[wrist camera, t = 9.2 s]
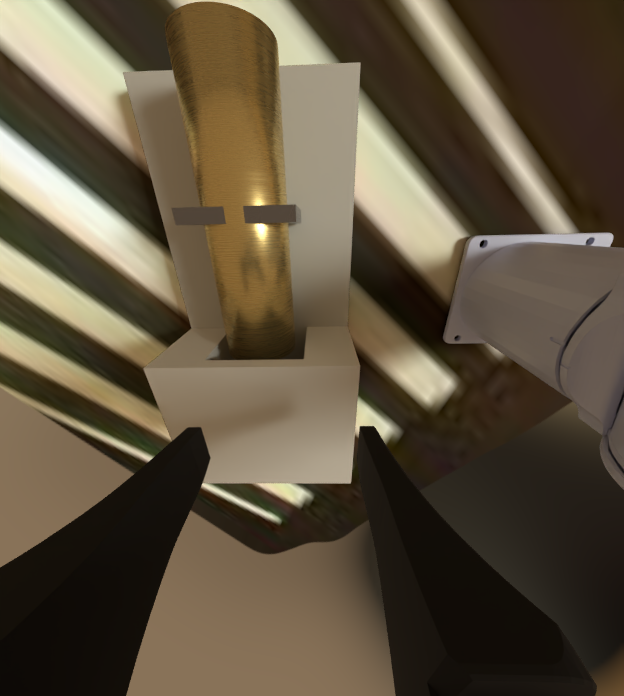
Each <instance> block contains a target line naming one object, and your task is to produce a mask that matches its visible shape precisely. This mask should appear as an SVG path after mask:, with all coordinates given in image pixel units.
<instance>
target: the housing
mask: <svg viewBox="0 0 624 696" xmlns="http://www.w3.org/2000/svg"><path fill="white" fill-rule="evenodd" d="M279 74H280V91H281V108H282V125H283V142H284V158H285V175H286V192H287V205H293V204H296V205H297V207H298V208H299V209H300V210H301V223H288V226H289V243H290V260H291V277H292V294H293V310H294V327H295V344H296V345H295V349H294V350H293V351H292V352H291V353H290V354H289V355H287V356H285V357H283V358H281V359H278V360H236V359H234V358H233V357H231V355H230V353H229V348H228V343H227V338H226V333H225V328H224V323H223V318H222V313H221V308H220V303H219V298H218V293H217V288H216V283H215V278H214V273H213V268H212V263H211V258H210V253H209V248H208V243H207V239H206V234H205V229H204V225H175V221H174V217H173V213H172V209H171V208H183V207H200V204H199V199H198V194H197V189H196V184H195V179H194V174H193V169H192V164H191V159H190V154H189V149H188V144H187V139H186V134H185V129H184V124H183V119H182V114H181V109H180V104H179V99H178V94H177V89H176V84H175V79H174V74H173V70H167V71H143V72H123V75H124V79H125V82H126V86H127V90H128V94H129V97H130V101H131V105H132V109H133V112H134V116H135V120H136V124H137V127H138V131H139V135H140V138H141V142H142V146H143V150H144V153H145V157H146V161H147V165H148V168H149V172H150V176H151V179H152V183H153V187H154V191H155V194H156V198H157V202H158V206H159V209H160V213H161V217H162V221H163V224H164V228H165V232H166V235H167V239H168V243H169V247H170V250H171V254H172V258H173V262H174V265H175V269H176V273H177V277H178V280H179V284H180V288H181V291H182V295H183V299H184V303H185V306H186V310H187V314H188V318H189V321H190V325H191V329H190V330H189V331H188V332H187V333H185V334H184V335H183V336H182V337H181V338H179V339H178V340H177V341H176V342H174V343H173V344H172V345H171V346H170V347H168V348H167V349H166V350H165V351H164V352H162V353H161V354H160V355H159V356H157V357H156V358H155V359H154V360H153V361H151V362H150V363H149V364H148V365H147V366H145V367H144V368H143V369H144V372H145V374H146V377H147V379H148V382H149V384H150V387H151V389H152V392H153V394H154V397H155V399H156V402H157V404H158V407H159V409H160V412H161V414H162V417H163V419H164V422H165V425H166V427H167V430H168V432H169V435H170V437H171V440H172V441H173V440H174V439H175V438H176V437H177V436H178V435H180V434H181V433H182V432H183V431H184V430H185V429H186V428H188V427H201V428H202V432H203V435H204V438H205V441H206V445H207V448H208V451H209V454H210V457H211V459H210V462H209V465H208V469H207V472H206V475H205V478H204V481H203V483H351V475H352V463H353V450H354V438H355V425H356V412H357V400H358V387H359V375H360V364H359V360H358V357H357V354H356V351H355V348H354V345H353V341H352V338H351V335H350V332H349V329H348V310H349V290H350V269H351V248H352V227H353V207H354V186H355V165H356V144H357V124H358V103H359V82H360V63H338V64H313V65H289V66H279Z"/></svg>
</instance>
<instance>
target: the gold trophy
mask: <svg viewBox="0 0 624 696" xmlns="http://www.w3.org/2000/svg"><path fill="white" fill-rule="evenodd" d="M165 34H166V39H167V44H168V49H169V54H170V59H171V64H172V69H173V74H174V79H175V84H176V89H177V94H178V99H179V104H180V109H181V114H182V119H183V124H184V129H185V134H186V139H187V144H188V149H189V154H190V159H191V164H192V169H193V174H194V179H195V184H196V189H197V194H198V199H199V204H200V207H183V208H171V209H172V213H173V217H174V221H175V225H204V229H205V234H206V239H207V243H208V248H209V253H210V258H211V263H212V268H213V273H214V278H215V283H216V288H217V293H218V298H219V303H220V308H221V313H222V318H223V323H224V328H225V333H226V338H227V343H228V348H229V353H230V355H231V357H233V358H234V359H236V360H278V359H281V358H283V357H285V356H287V355H289V354H290V353H291V352H292V351H293V350H294V349H295V345H296V344H295V327H294V310H293V294H292V277H291V260H290V243H289V226H288V223H301V210H300V209H299V208H298V207H297V205H296V204H293V205H287V192H286V175H285V158H284V142H283V125H282V108H281V91H280V74H279V57H278V44H277V40H276V38H275V36H274V34H273V32H272V31H271V30H270V28H269V27H268V26H267V25H266V24H265V23H264V22H263V21H261V20H260V19H259V18H257V17H256V16H254V15H253V14H251V13H249V12H247V11H245V10H243V9H240V8H238V7H235V6H232V5H228V4H224V3H218V2H195V3H190V4H186V5H184V6H181V7H179V8H178V9H176V10H174V11H173V12H172V13H171V14H170V15H169V17H168V18H167V21H166V23H165Z"/></svg>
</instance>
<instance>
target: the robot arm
mask: <svg viewBox="0 0 624 696" xmlns="http://www.w3.org/2000/svg"><path fill="white" fill-rule="evenodd" d="M587 239H589V240H588V242H587V243H586V241H587ZM482 240H484V244H483V246H482V247H480V242H481V241H482ZM612 241H613V235H612V233H570V234H527V235H485V236H472V237H470V238H469V239H468V240H467V242H466V245H465V249H464V253H463V257H462V261H461V265H460V269H459V274H458V278H457V282H456V286H455V290H454V294H453V298H452V302H451V306H450V310H449V314H448V318H447V323H446V327H445V331H444V335H443V340H444V341H445V342H446V343H449V344H457V343H488V344H490V345H491V346H493V347H494V348H496V349H497V350H499V351H500V352H502V353H503V354H505V355H506V356H508V357H509V358H510V359H512V360H513V361H515V362H516V363H518V364H519V365H521V366H522V367H524V368H525V369H527V370H528V371H529V372H531V373H532V374H534V375H535V376H537V377H538V378H540V379H541V380H543V381H544V382H546V383H547V384H549V385H550V386H551V387H553V388H554V389H556V390H557V391H559V392H560V393H562V394H563V395H565V396H566V397H568V398H569V399H571V400H572V401H573V402H574V403H575V404H576V405H577V406H578V409H579V413H578V418H580V419H581V420H583V421H584V422H585V423H587V424H588V425H589V426H591V427H592V428H593V429H595V430H596V431H597V432H599V433H600V434H602V435H603V437H602V440H601V444H600V453H601V458H602V460H603V462H604V465H605V467H606V468H607V470H608V471H609V473H610V474H611V475H612V477H613V478H614V480H615V481H616V482H617V483H618V484H619V485H620V486H621V487H622V488H623V489H624V248H617V247H610V245H611V243H612ZM457 335H458V338H456V339H454V338H455V336H457ZM210 459H211V457H210V454H209V451H208V448H207V445H206V441H205V438H204V435H203V432H202V428H201V427H188V428H186V429H185V430H184V431H183V432H182V433H181V434H180V435H178V436H177V437H176V438H175V439H174V440H173V441H172V442H171V443H169V444H168V445H167V446H166V447H165V448H164V449H163V450H162V451H161V452H159V453H158V454H157V455H156V456H155V457H154V458H153V459H151V460H150V461H149V462H148V463H147V464H146V465H145V466H144V467H142V468H141V469H140V470H139V471H138V472H136V473H135V474H134V475H133V476H131V477H130V478H129V479H128V480H127V481H125V482H124V483H123V484H122V485H121V486H120V487H118V488H117V489H116V490H114V491H113V492H112V493H111V494H109V495H108V496H107V497H105V498H104V499H103V500H102V501H100V502H99V503H97V504H96V505H95V506H93V507H92V508H90V509H89V510H88V511H86V512H85V513H84V514H82V515H81V516H79V517H78V518H77V519H75V520H74V521H72V522H71V523H69V524H68V525H66V526H65V527H63V528H62V529H60V530H59V531H57V532H56V533H54V534H53V535H51V536H50V537H48V538H47V539H45V540H44V541H42V542H41V543H39V544H38V545H36V546H35V547H33V548H31V549H30V550H28V551H27V552H25V553H23V554H22V555H20V556H19V557H17V558H15V559H14V560H12V561H10V562H9V563H7V564H5V565H4V566H2V567H0V696H126V694H127V690H128V687H129V683H130V680H131V676H132V673H133V669H134V666H135V662H136V659H137V655H138V652H139V649H140V646H141V642H142V639H143V636H144V633H145V630H146V626H147V623H148V620H149V617H150V614H151V610H152V608H153V605H154V602H155V599H156V596H157V593H158V590H159V587H160V584H161V581H162V578H163V575H164V573H165V570H166V567H167V564H168V562H169V559H170V556H171V553H172V551H173V548H174V546H175V543H176V541H177V538H178V536H179V534H180V532H181V529H182V527H183V525H184V523H185V521H186V519H187V516H188V514H189V512H190V510H191V508H192V506H193V503H194V501H195V499H196V497H197V494H198V492H199V490H200V488H201V485H202V483H203V481H204V478H205V475H206V472H207V469H208V465H209V462H210ZM357 462H358V470H359V477H360V483H361V488H362V492H363V497H364V501H365V505H366V510H367V514H368V518H369V522H370V527H371V531H372V535H373V540H374V545H375V550H376V555H377V562H378V569H379V576H380V582H381V589H382V596H383V603H384V610H385V617H386V624H387V632H388V639H389V646H390V654H391V662H392V670H393V678H394V686H395V694H396V696H595V694H596V689H597V686H596V684H595V682H594V680H593V679H592V678H591V676H590V674H589V672H588V671H587V669H586V668H585V666H584V664H583V663H582V661H581V659H580V658H579V656H578V654H577V653H576V651H575V650H574V648H573V647H572V645H571V644H570V642H569V641H568V639H567V638H566V637H565V635H564V634H563V632H562V631H561V629H560V628H559V626H558V625H557V624H556V623H555V622H554V621H553V620H552V619H550V618H549V617H548V616H547V615H546V614H544V613H543V612H542V611H541V610H540V609H538V608H537V607H536V606H535V605H534V604H533V603H532V602H530V601H529V600H528V599H527V598H526V597H525V596H523V595H522V594H521V593H520V592H519V591H518V590H517V589H515V588H514V587H513V586H512V585H511V584H510V583H509V582H508V581H506V580H505V579H504V578H503V577H502V576H501V575H500V574H499V573H498V572H496V571H495V570H494V569H493V568H492V567H491V566H490V565H489V564H488V563H487V562H486V561H485V560H484V559H483V558H482V557H481V556H480V555H479V554H478V553H477V552H476V551H475V550H474V549H472V547H470V546H469V545H468V544H467V543H466V542H465V541H464V540H463V539H462V538H461V537H460V536H459V535H458V534H457V533H456V532H455V531H454V530H453V528H451V526H450V525H449V524H448V523H447V522H446V521H445V520H444V519H443V518H442V517H441V516H440V515H439V513H438V512H437V511H436V510H435V509H434V508H433V507H432V506H431V504H430V503H429V502H428V501H427V500H426V499H425V497H424V496H423V495H422V494H421V492H420V491H419V490H418V489H417V487H416V486H415V485H414V484H413V482H412V481H411V480H410V479H409V477H408V476H407V475H406V473H405V472H404V471H403V469H402V468H401V466H400V465H399V464H398V462H397V461H396V459H395V458H394V457H393V455H392V454H391V452H390V451H389V449H388V448H387V446H386V444H385V443H384V441H383V440H382V438H381V436H380V435H379V433H378V431H377V430H376V428H375V427H374V426H360V431H359V442H358V453H357Z"/></svg>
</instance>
